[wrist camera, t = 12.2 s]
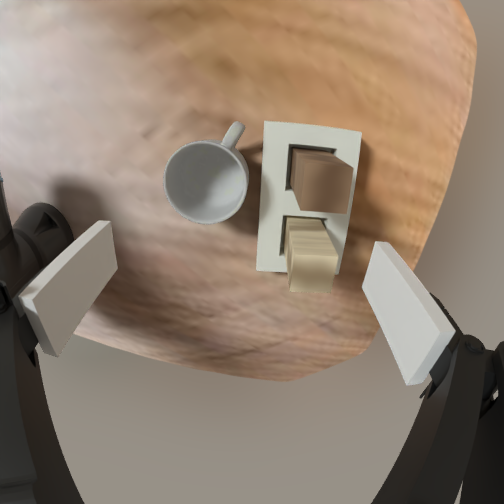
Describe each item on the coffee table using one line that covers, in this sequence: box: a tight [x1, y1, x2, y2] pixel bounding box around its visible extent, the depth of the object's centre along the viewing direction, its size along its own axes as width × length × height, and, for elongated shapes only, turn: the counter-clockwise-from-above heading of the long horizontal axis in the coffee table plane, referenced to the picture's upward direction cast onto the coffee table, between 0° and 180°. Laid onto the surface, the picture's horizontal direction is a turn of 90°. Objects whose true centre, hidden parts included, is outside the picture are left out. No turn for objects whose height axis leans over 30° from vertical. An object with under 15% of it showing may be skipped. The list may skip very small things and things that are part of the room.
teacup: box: [163, 121, 249, 224], centre depth 37 cm, size 14×11×8 cm
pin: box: [283, 215, 338, 293], centre depth 38 cm, size 5×5×13 cm
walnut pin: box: [289, 147, 354, 214], centre depth 33 cm, size 5×5×13 cm
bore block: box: [256, 121, 362, 274], centre depth 40 cm, size 13×22×4 cm, turn 177°
